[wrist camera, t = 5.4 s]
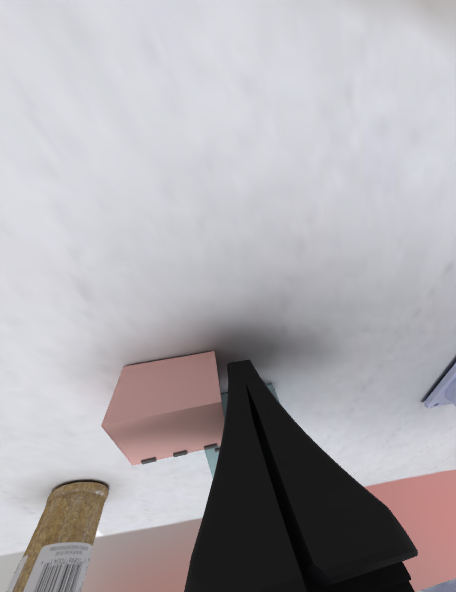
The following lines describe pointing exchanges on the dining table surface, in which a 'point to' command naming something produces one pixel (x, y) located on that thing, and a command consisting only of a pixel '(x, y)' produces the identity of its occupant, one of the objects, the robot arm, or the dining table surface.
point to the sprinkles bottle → (62, 540)
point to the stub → (166, 408)
